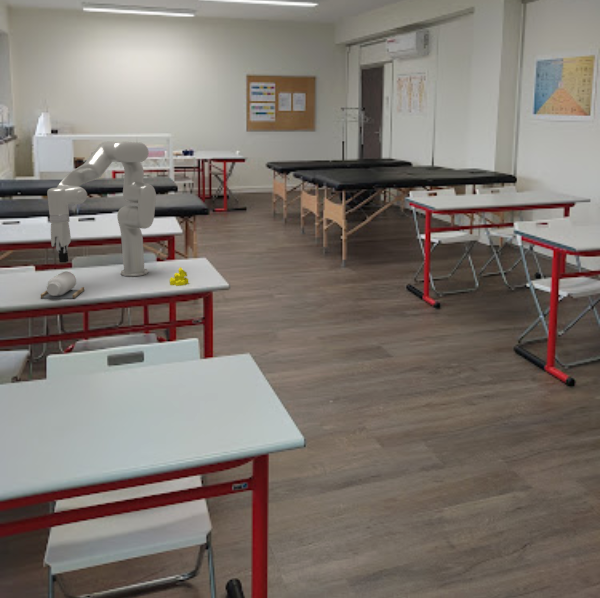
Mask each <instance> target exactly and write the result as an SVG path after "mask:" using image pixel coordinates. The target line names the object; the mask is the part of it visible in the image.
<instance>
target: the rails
mask: <svg viewBox="0 0 600 598" xmlns="http://www.w3.org/2000/svg"><path fill="white" fill-rule="evenodd" d="M77 290H78V291H77V292H75V293H74V294H73V295H72V296H73V298H75V297H76V298H75V299H77V298H78V297H79V296H80V295H79V294H80V293H81V292H82V291H84V290H85V287H84V286H82V287H80V288H79V289H77ZM85 291H86V290H85ZM85 291H84V292H85ZM47 294H48V292H47V289H46V290H45V291H43V292H42V293H41V294H40V300H44V299H43V297H44V296H45V295H47ZM78 295H79V296H78ZM77 296H78V297H77Z"/></svg>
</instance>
